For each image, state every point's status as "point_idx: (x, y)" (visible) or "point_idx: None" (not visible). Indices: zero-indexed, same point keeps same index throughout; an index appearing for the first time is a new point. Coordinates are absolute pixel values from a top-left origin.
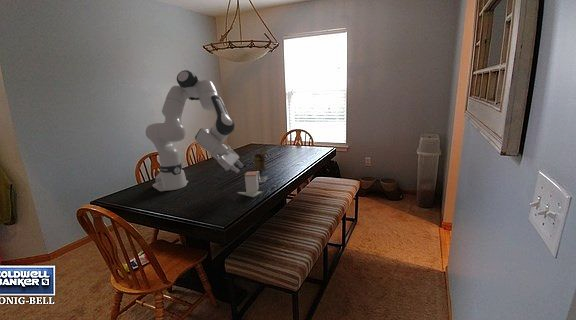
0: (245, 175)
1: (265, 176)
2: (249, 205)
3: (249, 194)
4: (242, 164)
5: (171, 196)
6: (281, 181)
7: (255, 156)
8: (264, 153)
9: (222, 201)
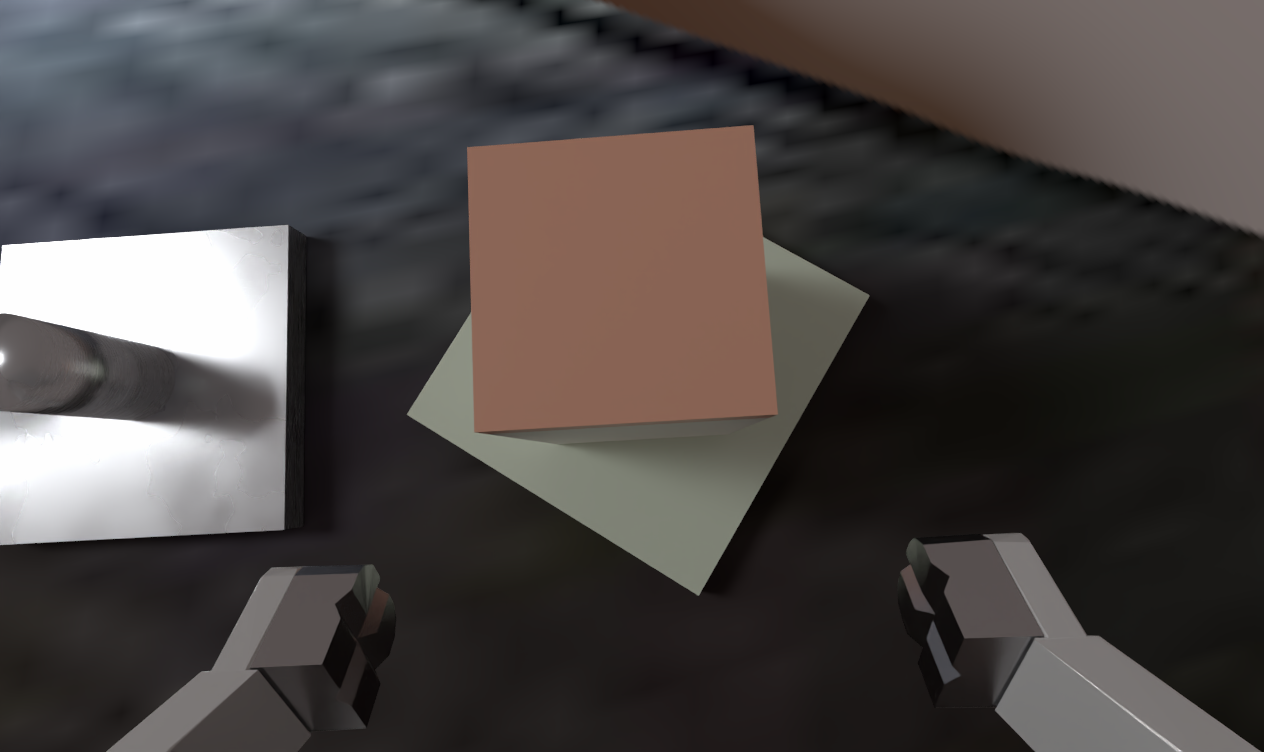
0: (772, 394)
1: (8, 279)
2: (1158, 284)
3: (814, 363)
4: (255, 606)
5: None
6: (229, 22)
7: None
8: None
9: None
